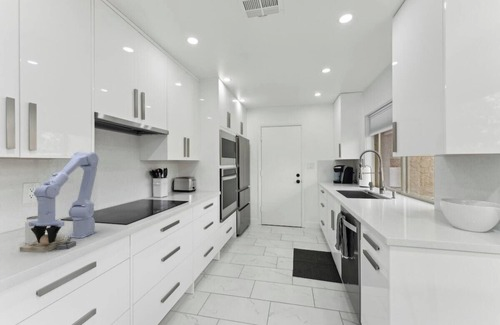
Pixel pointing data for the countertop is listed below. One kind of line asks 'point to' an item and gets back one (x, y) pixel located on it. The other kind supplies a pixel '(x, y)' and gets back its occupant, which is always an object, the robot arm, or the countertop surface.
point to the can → (29, 233)
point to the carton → (41, 246)
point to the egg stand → (66, 245)
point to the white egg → (59, 236)
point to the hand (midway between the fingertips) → (46, 242)
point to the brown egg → (44, 240)
